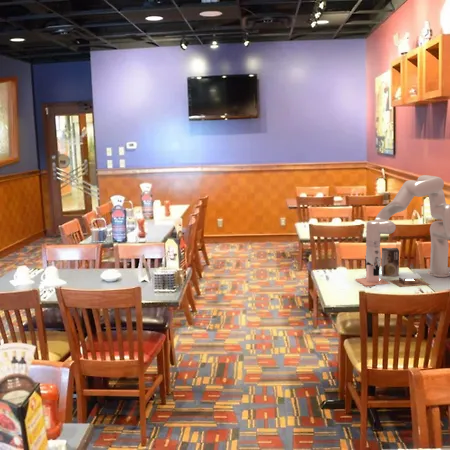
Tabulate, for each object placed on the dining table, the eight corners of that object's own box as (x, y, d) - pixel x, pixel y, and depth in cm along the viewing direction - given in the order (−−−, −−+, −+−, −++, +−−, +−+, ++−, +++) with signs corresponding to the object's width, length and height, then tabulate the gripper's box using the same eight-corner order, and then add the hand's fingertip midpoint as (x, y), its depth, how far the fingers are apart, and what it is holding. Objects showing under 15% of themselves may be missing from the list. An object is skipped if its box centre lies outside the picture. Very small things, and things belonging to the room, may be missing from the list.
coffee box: (396, 274, 354) (397, 247, 351) (398, 277, 348) (399, 250, 345) (380, 274, 355) (381, 247, 352) (382, 277, 349) (383, 249, 346)
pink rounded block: (376, 279, 339) (376, 264, 338) (378, 281, 337) (378, 265, 335) (366, 280, 338) (366, 264, 337) (368, 282, 335) (368, 266, 334)
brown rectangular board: (417, 279, 342) (417, 274, 341) (430, 286, 328) (430, 280, 328) (388, 282, 338) (388, 276, 338) (399, 288, 325) (400, 282, 324)
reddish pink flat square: (378, 278, 346) (378, 277, 346) (389, 285, 332) (389, 283, 332) (355, 280, 343) (355, 278, 343) (365, 286, 330) (365, 285, 329)
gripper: (386, 246, 326) (385, 276, 329) (372, 240, 343) (372, 269, 346) (373, 246, 325) (372, 277, 328) (360, 240, 341) (359, 270, 344)
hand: (372, 273), depth 337 cm, fingers open, 9 cm apart
